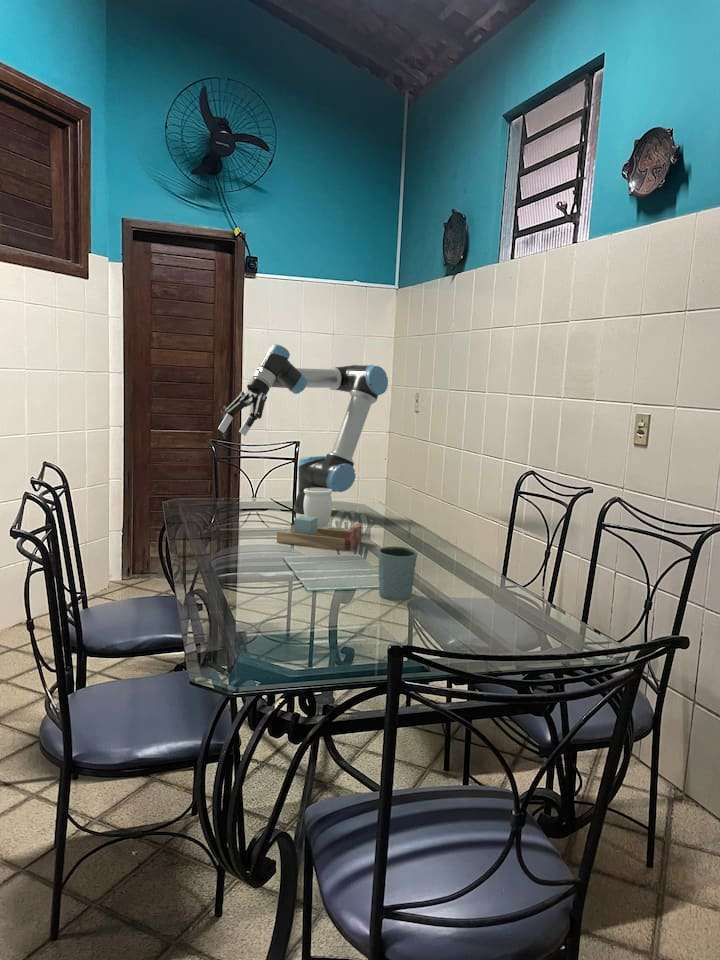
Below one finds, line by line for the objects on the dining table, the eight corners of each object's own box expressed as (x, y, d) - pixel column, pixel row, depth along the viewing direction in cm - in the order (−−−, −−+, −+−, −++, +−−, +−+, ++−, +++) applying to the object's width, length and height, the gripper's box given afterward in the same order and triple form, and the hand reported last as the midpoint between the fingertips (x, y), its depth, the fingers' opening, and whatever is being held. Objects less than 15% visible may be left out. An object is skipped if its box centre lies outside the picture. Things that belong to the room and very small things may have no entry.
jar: (314, 533, 249) (315, 492, 246) (297, 528, 256) (298, 488, 254) (337, 530, 255) (338, 490, 253) (320, 525, 263) (320, 486, 261)
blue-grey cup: (377, 588, 187) (378, 545, 185) (414, 590, 187) (416, 546, 185) (376, 600, 177) (378, 555, 175) (416, 602, 177) (418, 556, 175)
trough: (291, 534, 246) (292, 518, 245) (361, 542, 238) (361, 525, 237) (276, 542, 235) (276, 525, 234) (348, 550, 227) (349, 532, 226)
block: (301, 538, 242) (301, 515, 241) (317, 539, 240) (317, 517, 239) (294, 542, 236) (294, 519, 235) (310, 543, 234) (310, 520, 233)
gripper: (234, 376, 255) (205, 423, 249) (274, 377, 237) (243, 428, 231) (248, 388, 260) (219, 435, 254) (288, 390, 241) (258, 441, 236)
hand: (231, 432), depth 242 cm, fingers open, 13 cm apart
